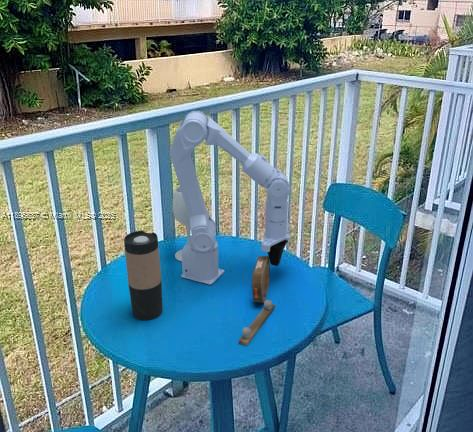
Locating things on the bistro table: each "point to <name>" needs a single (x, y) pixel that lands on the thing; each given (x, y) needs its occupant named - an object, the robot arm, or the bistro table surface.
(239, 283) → the bistro table surface
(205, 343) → the bistro table surface
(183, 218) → the wineglass
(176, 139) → the robot arm
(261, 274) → the tin
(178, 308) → the bistro table surface
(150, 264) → the travel mug
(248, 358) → the bistro table surface
